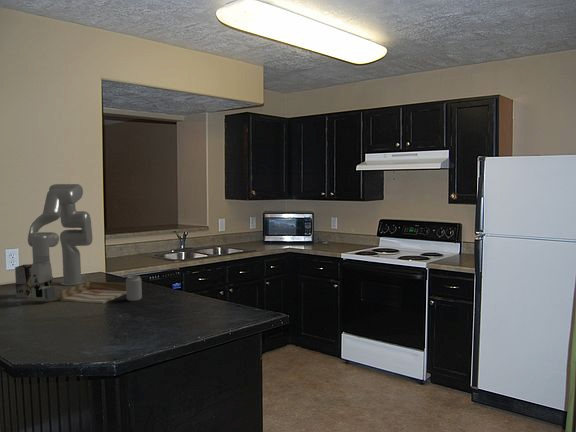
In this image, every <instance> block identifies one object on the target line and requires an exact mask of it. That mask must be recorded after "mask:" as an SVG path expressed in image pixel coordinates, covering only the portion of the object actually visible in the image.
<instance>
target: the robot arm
mask: <svg viewBox="0 0 576 432" xmlns="http://www.w3.org/2000/svg"><path fill="white" fill-rule="evenodd" d="M83 195H84V189H83V186H81V184H78V183H57V184H52V185H50V186H49V189H48V192H46V197H45V202H44V206H43V211H42V214H40V215H39V216H38V217H37V218H36V219H35V220H34V221H33V222H32V223H31V225H30V227H29V231H28V234H27V235H28V236H27V243H28V246H29V247H31V250H32V251H31V253H32V267H31V285H32V286H33V287H34V288H35V289H36V297H42V289H41V286H52V283H53V280H54V276H53V269H52V263H51V257H50V248H54V247H56V246H57V245H58V244H60V245H61V250H62V251H61V252H62V253H61V254H62V255H61V256H62V278H63V279H62V281H60V285H61V286H69V287H70V286H77V285H80V284H83V283H85V280H84V278H85V277H86V274H82V270H81V269H82V267H81V265H82V263H81V252H80V251H79V249H78V247H81V246H82V247H83V246H90V245H91V244H93V243H92V242H93V229H92V227H93V226H92V221H91V220H92V219H91V218H92V217H91V215H90V213H89V212H88V211H85V210H81V211H80V210H79V211H77V208H76V204H77V202H78V201H79V200H81V198H83ZM58 220H60V224H61V226H62V227H63V228H67V229H66V230H63V231H61V233H59V234H60V235H59V234H58V233H56V232H53V231H51V232H49V231H48V232H46V231H45V232H41V231H40V232H39V230H40V229H42V227H44V226H46V225H49V224H52V223H53V222H56V221H58ZM59 242H60V243H59ZM43 284H44V285H43Z"/></svg>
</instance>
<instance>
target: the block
mask: <svg viewBox="0 0 576 432" xmlns="http://www.w3.org/2000/svg"><path fill="white" fill-rule="evenodd" d="M41 289H42V297H36V289H35V288H34V287H33V288H31V290H32V296H31V298H32V299H40V300H41V299H43V300H50V299H52V298H54V297H55V296H56V295H55V293H56V292H55V286H54V285H53V286H52V285H51V286H45V285H41Z"/></svg>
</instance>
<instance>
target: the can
mask: <svg viewBox="0 0 576 432" xmlns="http://www.w3.org/2000/svg"><path fill="white" fill-rule="evenodd" d="M125 283H126V294H125V295H126V297H125V298H126V300H127V301H128V302H138V301H141V299H142V298H143V292H142V289H143V288H142V285H143V284H142V277H141V276H140V275H128V276H127V277H126V279H125Z"/></svg>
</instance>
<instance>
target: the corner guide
mask: <svg viewBox="0 0 576 432" xmlns="http://www.w3.org/2000/svg"><path fill="white" fill-rule="evenodd" d="M59 295H60V301H61V302H69V303H70V302H72V303H73V302H74V303H87V304H89V303H90V304H106V303H107V302H110V301H112V300H115V299H117V298H120V297H122V296H124V295H126V282H110V281H108V282H105V281H87V282H84V283H82V284H79V285H73V286H72V287H69V288H66V289H62V290H60V294H59Z"/></svg>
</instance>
